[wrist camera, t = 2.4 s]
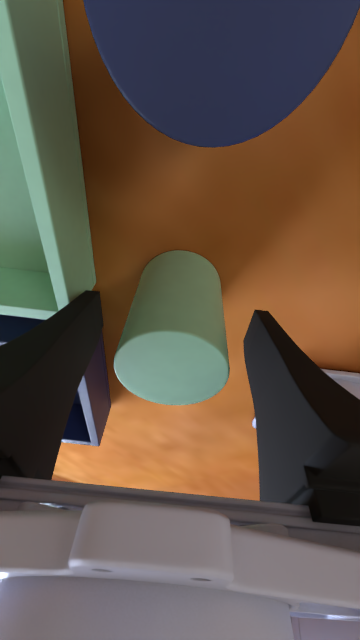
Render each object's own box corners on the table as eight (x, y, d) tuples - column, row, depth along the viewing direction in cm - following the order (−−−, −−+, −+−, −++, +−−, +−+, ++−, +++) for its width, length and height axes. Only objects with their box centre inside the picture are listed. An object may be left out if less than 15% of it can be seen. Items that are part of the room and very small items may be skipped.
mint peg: (228, 255, 13) (243, 338, 9) (212, 321, 16) (217, 411, 12) (140, 244, 13) (109, 323, 9) (140, 313, 16) (116, 399, 11)
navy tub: (99, 307, 16) (79, 350, 13) (111, 405, 23) (99, 446, 20) (-81, 286, 16) (-139, 325, 13) (-15, 391, 23) (-43, 431, 20)
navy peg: (306, -67, 7) (492, -355, 3) (258, 131, 10) (306, 161, 5) (143, -91, 7) (38, -434, 2) (141, 116, 10) (90, 133, 5)
